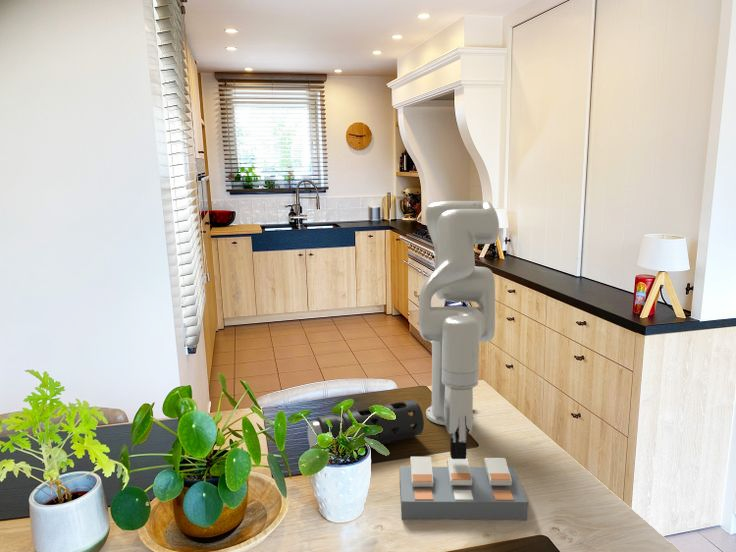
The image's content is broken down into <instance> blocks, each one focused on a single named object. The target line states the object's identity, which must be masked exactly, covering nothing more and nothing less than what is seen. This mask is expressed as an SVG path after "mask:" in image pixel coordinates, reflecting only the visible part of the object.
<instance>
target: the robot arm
mask: <svg viewBox="0 0 736 552" xmlns="http://www.w3.org/2000/svg"><path fill="white" fill-rule="evenodd" d="M425 224H426V227H427V231H428V234H429V237H430V239H431V242H432V244H433V247H434V270H433V271H432V273H431V274H430V275H429V276H428V277H427V278H426V279H425V281H424V283H423V285H422V287H421V289H420V292H419V297H418V332H419V334H420V336H421V338H422V339H423V340H424V341H428V342H431V405H430V406H429V407H427V408H426V411H425V416H426V419H428V421H430V422H432V423H435V424H437V425H441V426H445V428H446V432H447V433H448V434H449V435H451V437H450V439H449V440H450V441H449V442H450V447H449V452H450V453H449V455H450V458H452V459H466V458H467V442H468V441H467V434H468V435H471V433H472V431H473V418H474V417H473V413H474V412H473V410H474V401H473V400H474V395H473V394H474V392H473V390H474V388H475V387H477V386H478V385H479V363H480V360H479V359H480V356H479V355H480V343H487V342H490V341H492V340H493V339H494V336H495V332H496V282H495V281H496V280H495V276H494V273H493V271H492V270H491V268H488V267H486V266H476V263H475V261H476V259H475V258H476V257H475V245H492V244H494V243H495V242H497V240H498V238H499V234H500V222H499V216H498V213H497V211H496V209H495V208H494V206H493V204H492V203H491V202H490V201H486V200H444V201H435V202H432V203H430V204H428V205H427V206H426V209H425ZM434 295H436V297H437V299H439V300H440V301H444V302H457V303H458V302H466V303H469V302H471V303H472V302H473V303H476V304H477V306H463V305H462V306H460V305H459V306H454V305H452V306H451V305H450V306H433V307H432V304H431V303H432V298H433V296H434Z"/></svg>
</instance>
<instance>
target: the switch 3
mask: <svg viewBox="0 0 736 552" xmlns="http://www.w3.org/2000/svg"><path fill="white" fill-rule="evenodd" d="M483 460H484V461H483V462H484V467H486V471H487V477H488V480H489V483H490V485H512V479H511V476H510V472H509V469H508V467H509V466H508V463H507V460H506V457H484V459H483Z"/></svg>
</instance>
